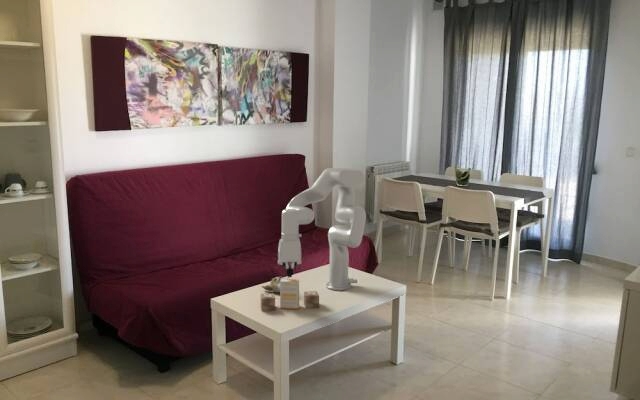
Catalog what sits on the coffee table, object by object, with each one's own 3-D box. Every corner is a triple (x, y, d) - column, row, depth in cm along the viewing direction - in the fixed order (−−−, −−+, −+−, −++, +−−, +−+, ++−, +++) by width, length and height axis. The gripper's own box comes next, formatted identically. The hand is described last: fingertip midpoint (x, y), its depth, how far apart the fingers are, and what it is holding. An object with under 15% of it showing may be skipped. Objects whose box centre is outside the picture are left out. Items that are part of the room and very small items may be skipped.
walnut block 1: (273, 305, 249) (273, 292, 248) (275, 310, 244) (275, 297, 242) (260, 306, 248) (260, 293, 247) (261, 311, 242) (261, 298, 241)
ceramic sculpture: (280, 280, 257) (260, 275, 267) (281, 298, 258) (260, 292, 269) (297, 275, 265) (276, 270, 275) (297, 293, 266) (277, 287, 276)
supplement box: (299, 305, 250) (299, 278, 247) (297, 309, 245) (298, 281, 243) (281, 304, 250) (281, 277, 248) (279, 308, 246) (279, 280, 243)
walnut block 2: (316, 303, 253) (316, 290, 252) (319, 308, 247) (319, 295, 246) (303, 304, 252) (304, 291, 251) (305, 308, 246) (306, 295, 245)
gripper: (305, 234, 247) (304, 273, 250) (272, 235, 244) (272, 274, 247) (307, 238, 240) (307, 278, 243) (273, 239, 237) (273, 279, 240)
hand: (289, 276), depth 245 cm, fingers closed
